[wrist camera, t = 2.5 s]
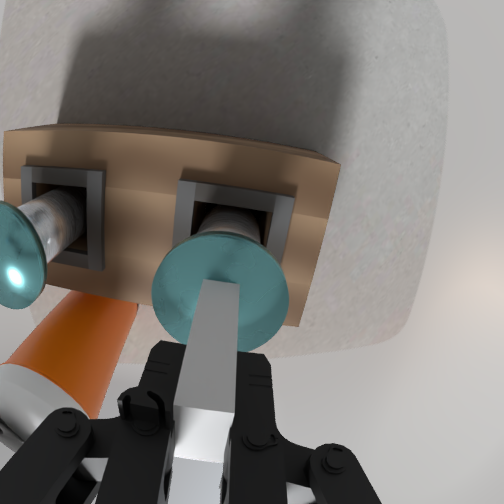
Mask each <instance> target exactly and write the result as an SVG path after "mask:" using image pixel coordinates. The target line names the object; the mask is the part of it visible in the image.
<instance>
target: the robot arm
mask: <svg viewBox="0 0 504 504" xmlns="http://www.w3.org/2000/svg"><path fill="white" fill-rule="evenodd" d="M239 289H240V284H234V283H228V282H221V281H214V280H207V279H203V282H202V285H201V289H200V293H199V297H198V301H197V305H196V309H195V313H194V317H193V321H192V325H191V330H190V334H189V338H188V342H187V345H186V344H180V343H174V342H168V341H162V340H160V341H159V342H158V343H157V344H156V345H155V346H154V347H153V348H152V349H151V351H150V354H149V357H148V360H147V362H146V365H145V368H144V371H143V374H142V377H141V380H140V382H139V385H138V386H137V387H133V388H129V389H127V390H126V391H125V392H123V393H121V395H120V396H119V398H118V399H117V402H118V408H119V413H120V416H118V417H115V418H110V419H88V417H87V416H86V415H85V414H84V413H83V412H82V411H80V410H78V409H75V408H70V407H63V408H59V409H56V410H54V411H53V412H52V413H50V414H49V415H48V416H47V417H46V418H45V419H44V421H43V422H42V423H41V424H40V425H39V426H38V427H37V428H36V430H35V431H34V432H33V433H32V434H31V435H30V437H29V438H28V439H27V440H26V441H25V442H24V443H23V445H22V446H21V447H20V448H19V449H18V450H17V452H16V453H15V454H14V455H13V456H12V458H11V459H10V460H9V461H8V462H7V464H6V465H5V466H4V467H3V468H2V469H1V471H0V504H91V503H92V501H93V500H94V498H95V497H96V495H97V493H98V495H97V499H96V502H95V504H168V498H169V491H170V484H171V478H172V463H173V456H175V457H181V458H187V459H195V460H201V461H209V462H218V463H223V462H224V463H223V474H222V478H221V482H220V486H219V488H221V493H220V504H382V503H381V502H380V500H379V498H378V496H377V494H376V492H375V491H374V489H373V487H372V485H371V483H370V482H369V480H368V478H367V476H366V474H365V473H364V471H363V469H362V467H361V465H360V463H359V462H358V460H357V458H356V456H355V455H354V454H353V453H352V452H351V450H349V449H348V448H346V447H344V446H342V445H338V444H334V443H332V444H324V445H321V446H319V447H317V448H316V449H315V450H314V449H310V448H307V447H303V446H300V445H297V444H294V443H292V442H290V441H288V440H287V439H285V438H284V437H283V436H282V435H281V434H280V432H279V431H278V429H277V426H276V422H275V410H274V398H273V388H272V379H271V378H272V375H271V365H270V363H269V361H268V360H267V358H266V357H265V355H264V354H258V353H249V352H241V351H237V336H238V312H239Z"/></svg>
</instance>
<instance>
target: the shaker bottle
mask: <svg viewBox="0 0 504 504" xmlns="http://www.w3.org/2000/svg"><path fill="white" fill-rule="evenodd" d="M136 314H137V303H133V302H127V301H122V300H117V299H112V298H107V297H102V296H98V295H93V294H88V293H84V292H79V291H75V290H71V291H70V292H69V293H68V294H67V295H66V296H65V297H64V298H63V300H62V301H61V302H60V303H59V304H58V305H57V306H56V307H55V308H54V309H53V310H52V311H51V312H50V313H49V314H48V315H47V316H46V317H45V318H44V319H43V321H42V322H41V323H40V324H39V325H38V326H37V327H36V328H35V329H34V330H33V331H32V333H31V334H30V335H29V336H28V337H27V338H26V339H25V341H23V343H22V344H21V345H20V346H19V347H18V348H17V349H16V351H15V352H14V353H13V354H12V355H11V356H10V358H9V359H8V360H7V361H6V362H5V363H2V364H1V365H0V441H1V442H2V443H3V444H4V445H6V446H7V447H8V448H10V449H11V450H13V451H14V452H15V453H16V452H17V450H18V449H19V448H20V447H21V446H22V445H23V443H24V442H25V441H26V440H27V439H28V438H29V437H30V435H31V434H32V433H33V432H34V431H35V430H36V428H37V427H38V426H39V425H40V424H41V423H42V422H43V421H44V419H45V418H46V417H47V416H48V415H49V414H50V413H52V412H53V411H54V410H56V409H59V408H63V407H70V408H75V409H78V410H80V411H82V412H83V413H84V414H85V415H86V416H87V417H88V419H97V418H98V415H99V412H100V409H101V406H102V403H103V400H104V398H105V395H106V392H107V389H108V386H109V384H110V380H111V378H112V375H113V373H114V370H115V367H116V365H117V362H118V359H119V357H120V354H121V351H122V349H123V346H124V344H125V341H126V339H127V336H128V334H129V331H130V329H131V326H132V324H133V321H134V319H135V316H136Z"/></svg>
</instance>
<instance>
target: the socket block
mask: <svg viewBox="0 0 504 504" xmlns="http://www.w3.org/2000/svg"><path fill="white" fill-rule="evenodd" d="M340 166H341V164H339V163H337V162H335V161H333V160H331V159H329V158H327V157H325V156H323V155H322V154H320V153H318V152H316V151H311V150H307V149H302V148H297V147H292V146H286V145H281V144H276V143H270V142H264V141H258V140H252V139H246V138H239V137H233V136H226V135H218V134H211V133H203V132H194V131H185V130H176V129H165V128H154V127H141V126H125V125H104V124H50V125H42V126H35V127H28V128H22V129H15V130H9V131H4V143H3V183H4V201H5V202H8V203H10V204H12V205H14V206H15V207H19V206H21V205H23V204H25V203H27V202H29V201H31V200H33V199H35V198H37V197H39V196H41V195H43V194H45V193H47V192H49V191H51V190H53V189H56V188H58V187H60V186H62V185H68V186H78V187H81V188H83V189H84V187H87V231H86V232H85V233H83V234H82V235H81V236H80V237H79V238H77V239H76V240H75V241H74V242H73V243H71V244H70V245H69V246H68V247H67V248H65V249H64V250H63V251H62V252H61V253H60V254H58V255H57V256H56V257H55V258H54V259H53V260H52V261H50V262H49V263H48V264H47V269H48V270H47V281H46V284H49V285H53V286H57V287H61V288H66V289H70V290H75V291H79V292H84V293H88V294H93V295H98V296H102V297H107V298H112V299H117V300H122V301H127V302H133V303H138V304H143V305H149V306H153V304H152V297H151V290H152V283H153V279H154V276H155V273H156V271H157V269H158V267H159V265H160V264H161V262H162V260H163V259H164V257H165V255H166V254H167V253H168V252H169V251H170V250H171V249H172V248H173V247H174V246H175V245H176V244H177V243H179V242H181V241H182V240H184V239H186V238H188V237H190V236H192V235H195V234H197V232H198V230H199V228H200V225H201V223H202V221H203V219H204V217H205V211H206V203H207V202H209V203H215V204H222V205H229V206H236V207H242V208H248V209H255V210H261V214H260V219H259V232H260V243H261V244H262V245H263V246H264V247H266V248H267V249H268V250H269V251H270V252H271V253H272V254H273V255H274V257H275V258H276V259H277V261H278V262H279V264H280V265H281V267H282V269H283V272H284V275H285V278H286V282H287V286H288V292H289V307H288V312H287V315H286V318H285V320H284V322H283V324H282V325H286V326H295V327H299V323H300V320H301V317H302V313H303V310H304V307H305V303H306V300H307V296H308V293H309V289H310V286H311V282H312V278H313V275H314V271H315V268H316V264H317V260H318V256H319V253H320V249H321V245H322V241H323V237H324V233H325V230H326V226H327V222H328V218H329V213H330V209H331V205H332V201H333V197H334V193H335V188H336V184H337V180H338V175H339V171H340Z"/></svg>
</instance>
